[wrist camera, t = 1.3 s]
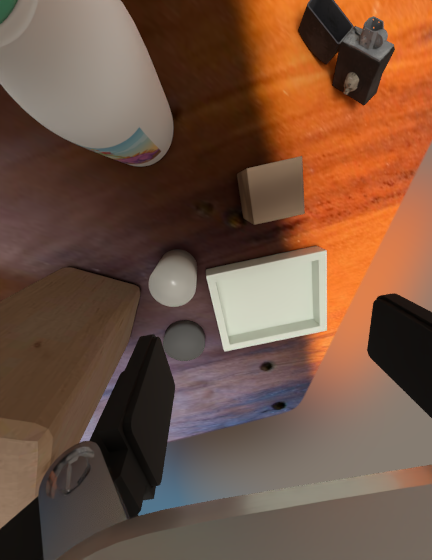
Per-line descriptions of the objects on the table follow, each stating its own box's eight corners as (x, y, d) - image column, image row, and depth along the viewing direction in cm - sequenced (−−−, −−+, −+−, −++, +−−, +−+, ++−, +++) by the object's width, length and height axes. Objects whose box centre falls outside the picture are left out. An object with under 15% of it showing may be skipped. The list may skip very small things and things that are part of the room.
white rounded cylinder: (154, 253, 28) (142, 269, 22) (192, 245, 27) (189, 259, 22) (165, 288, 29) (157, 310, 24) (201, 280, 29) (200, 301, 24)
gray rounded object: (160, 324, 32) (157, 332, 30) (199, 315, 32) (199, 323, 30) (171, 354, 34) (169, 364, 32) (208, 347, 34) (208, 356, 32)
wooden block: (143, 284, 29) (41, 446, 11) (129, 342, 32) (33, 540, 14) (65, 262, 27) (-224, 410, 9) (59, 325, 31) (-158, 528, 12)
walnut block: (236, 174, 25) (246, 168, 19) (279, 164, 24) (302, 156, 19) (243, 218, 26) (254, 224, 21) (283, 209, 26) (304, 213, 21)
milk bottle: (110, 59, 20) (-861, -1345, 2) (186, 106, 22) (99, -353, 3) (89, 144, 23) (-412, -67, 4) (158, 180, 24) (21, 145, 6)
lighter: (292, 69, 23) (292, 6, 18) (308, 50, 23) (313, -21, 17) (357, 112, 21) (379, 54, 16) (377, 91, 21) (406, 24, 15)
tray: (205, 269, 29) (206, 276, 26) (316, 245, 28) (326, 250, 26) (222, 340, 33) (224, 351, 31) (318, 320, 33) (326, 330, 31)
